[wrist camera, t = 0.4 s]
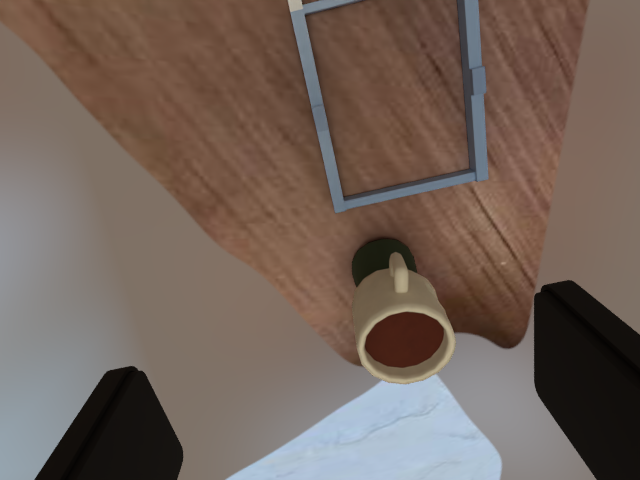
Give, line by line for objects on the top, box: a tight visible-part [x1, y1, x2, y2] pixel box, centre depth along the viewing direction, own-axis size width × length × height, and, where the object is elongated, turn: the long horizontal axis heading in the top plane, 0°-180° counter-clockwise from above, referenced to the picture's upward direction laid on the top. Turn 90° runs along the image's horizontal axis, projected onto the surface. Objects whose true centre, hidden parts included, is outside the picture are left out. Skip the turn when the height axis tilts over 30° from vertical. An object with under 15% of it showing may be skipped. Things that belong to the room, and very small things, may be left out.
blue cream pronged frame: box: [288, 0, 488, 213], centre depth 31 cm, size 31×14×2 cm, turn 13°
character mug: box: [352, 239, 456, 384], centre depth 35 cm, size 11×7×13 cm, turn 4°
